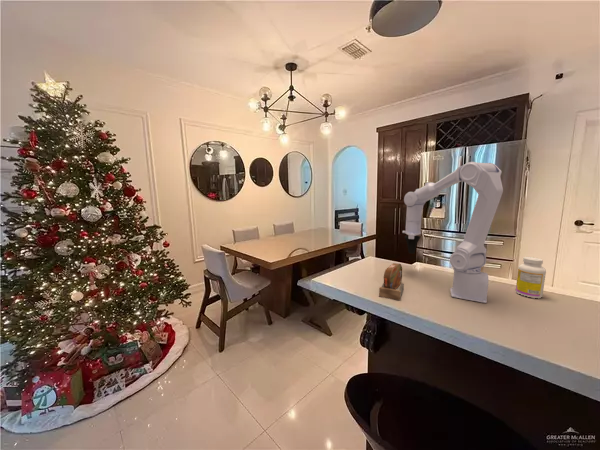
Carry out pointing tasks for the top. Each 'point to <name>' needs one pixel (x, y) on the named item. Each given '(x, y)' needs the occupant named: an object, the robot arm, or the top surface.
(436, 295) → the top surface
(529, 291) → the supplement bottle
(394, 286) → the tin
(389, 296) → the dock
